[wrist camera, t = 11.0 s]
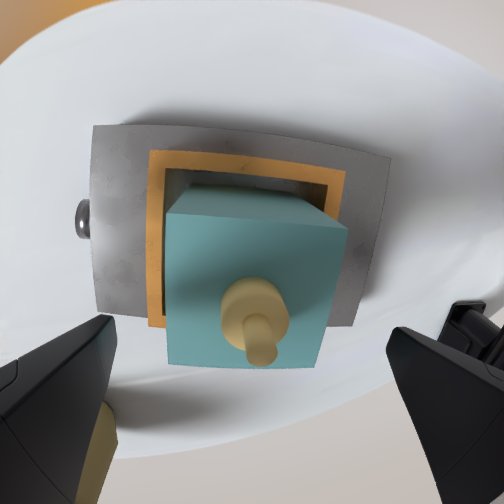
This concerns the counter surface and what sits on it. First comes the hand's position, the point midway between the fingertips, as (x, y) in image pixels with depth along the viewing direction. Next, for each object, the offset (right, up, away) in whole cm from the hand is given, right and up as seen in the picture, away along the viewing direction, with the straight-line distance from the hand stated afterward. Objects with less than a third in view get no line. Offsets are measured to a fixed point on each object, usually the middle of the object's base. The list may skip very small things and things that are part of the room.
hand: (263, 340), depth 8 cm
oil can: (-1, +4, +9) cm, 9 cm away
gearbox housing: (-2, +5, +11) cm, 12 cm away
